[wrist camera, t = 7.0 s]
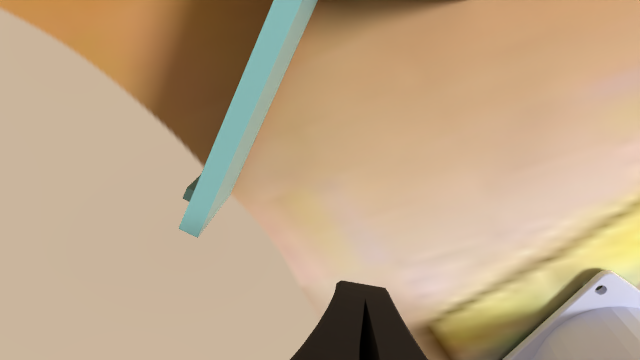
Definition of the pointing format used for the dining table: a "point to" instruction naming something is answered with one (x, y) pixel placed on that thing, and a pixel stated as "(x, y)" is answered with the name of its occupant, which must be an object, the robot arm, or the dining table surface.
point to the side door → (246, 111)
